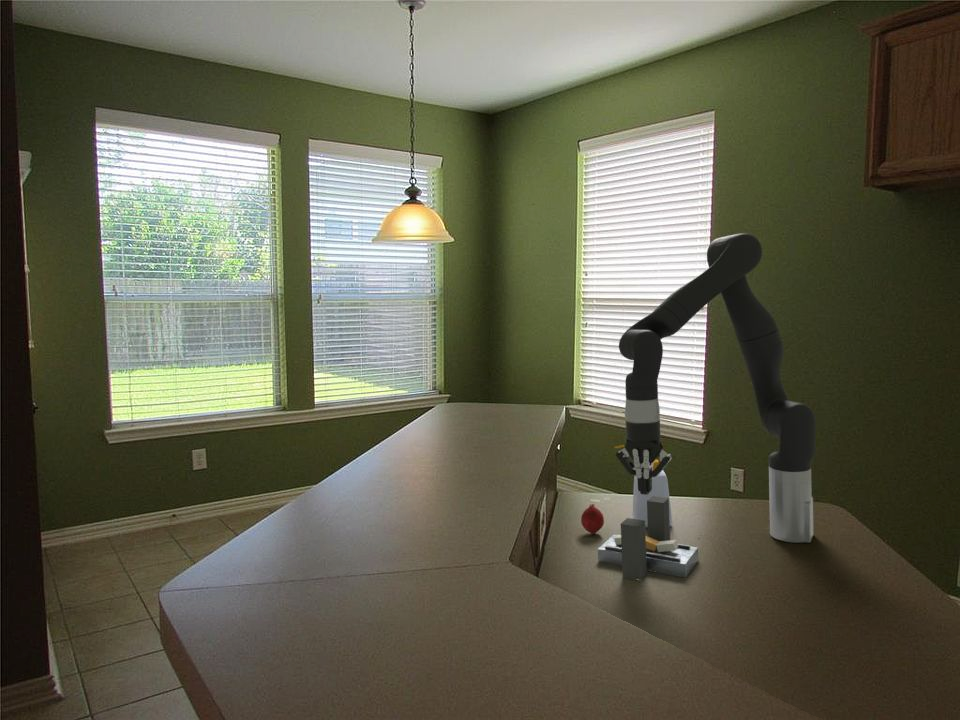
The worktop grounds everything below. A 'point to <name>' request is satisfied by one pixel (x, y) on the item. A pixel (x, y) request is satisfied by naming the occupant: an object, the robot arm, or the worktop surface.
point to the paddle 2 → (667, 545)
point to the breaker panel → (654, 558)
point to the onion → (592, 519)
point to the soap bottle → (657, 490)
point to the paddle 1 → (618, 540)
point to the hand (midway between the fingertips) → (644, 493)
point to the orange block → (651, 543)
